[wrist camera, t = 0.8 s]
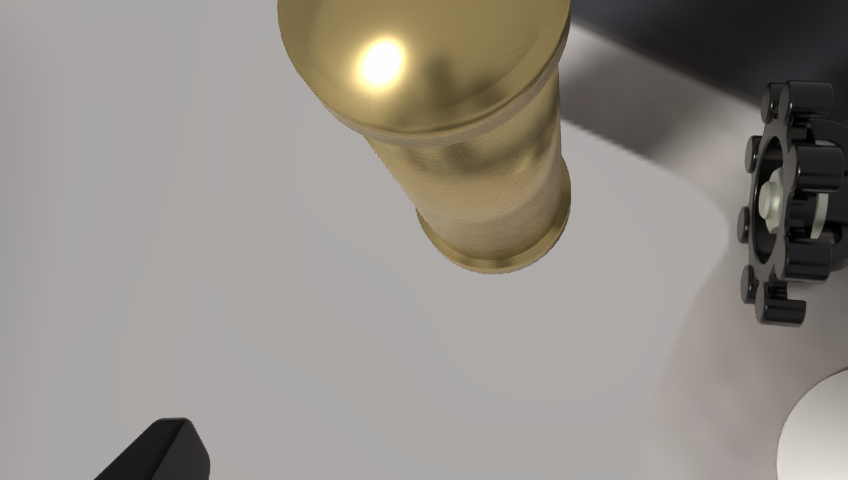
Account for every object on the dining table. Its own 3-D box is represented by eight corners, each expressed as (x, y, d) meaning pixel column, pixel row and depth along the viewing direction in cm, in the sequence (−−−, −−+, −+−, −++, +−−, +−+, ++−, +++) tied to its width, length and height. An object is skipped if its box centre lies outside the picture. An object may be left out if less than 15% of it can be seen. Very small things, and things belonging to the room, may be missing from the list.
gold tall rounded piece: (544, 293, 24) (517, 162, 12) (400, 248, 25) (235, 85, 13) (590, 150, 25) (610, -118, 12) (447, 113, 26) (336, -166, 14)
